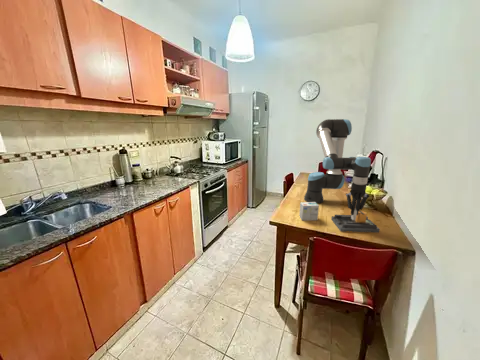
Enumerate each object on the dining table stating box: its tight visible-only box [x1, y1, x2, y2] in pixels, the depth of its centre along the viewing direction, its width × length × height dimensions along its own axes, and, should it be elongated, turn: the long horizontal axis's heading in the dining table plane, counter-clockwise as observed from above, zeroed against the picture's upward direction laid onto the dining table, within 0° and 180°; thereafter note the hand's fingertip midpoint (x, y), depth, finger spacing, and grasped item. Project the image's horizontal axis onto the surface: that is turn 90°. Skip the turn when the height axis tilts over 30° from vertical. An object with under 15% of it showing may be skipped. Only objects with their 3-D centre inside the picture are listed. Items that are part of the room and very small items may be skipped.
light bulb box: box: [298, 201, 320, 221], centre depth 134 cm, size 11×7×11 cm, turn 92°
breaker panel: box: [331, 215, 381, 234], centre depth 125 cm, size 15×22×4 cm
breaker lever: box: [356, 210, 368, 222], centre depth 124 cm, size 5×4×7 cm
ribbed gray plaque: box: [333, 214, 378, 228], centre depth 125 cm, size 14×20×2 cm
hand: (353, 219), depth 125 cm, fingers closed
